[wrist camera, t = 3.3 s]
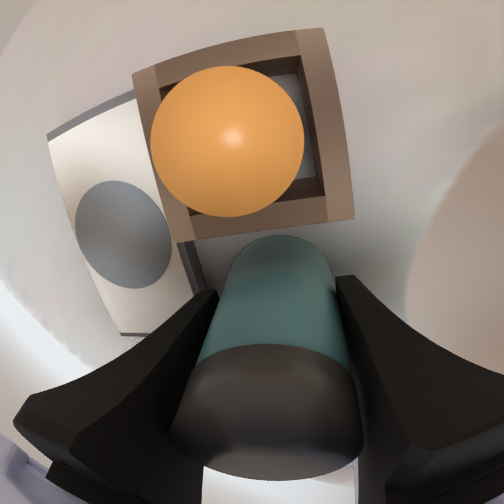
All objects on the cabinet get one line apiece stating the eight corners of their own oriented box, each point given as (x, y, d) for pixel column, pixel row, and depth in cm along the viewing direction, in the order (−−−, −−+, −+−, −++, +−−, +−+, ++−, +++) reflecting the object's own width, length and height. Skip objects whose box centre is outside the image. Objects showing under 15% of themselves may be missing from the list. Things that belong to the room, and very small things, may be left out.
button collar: (338, 194, 9) (354, 218, 7) (198, 214, 10) (173, 243, 8) (314, 51, 7) (323, 27, 5) (167, 82, 8) (131, 74, 6)
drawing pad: (218, 323, 12) (213, 340, 11) (128, 326, 13) (119, 339, 12) (154, 86, 8) (140, 84, 7) (58, 131, 9) (41, 135, 8)
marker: (334, 317, 12) (354, 475, 5) (240, 326, 12) (205, 476, 6) (329, 227, 10) (376, 396, 4) (217, 242, 11) (136, 399, 4)
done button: (305, 175, 8) (314, 205, 5) (209, 190, 8) (171, 227, 6) (287, 78, 7) (287, 51, 4) (188, 99, 7) (137, 92, 4)
